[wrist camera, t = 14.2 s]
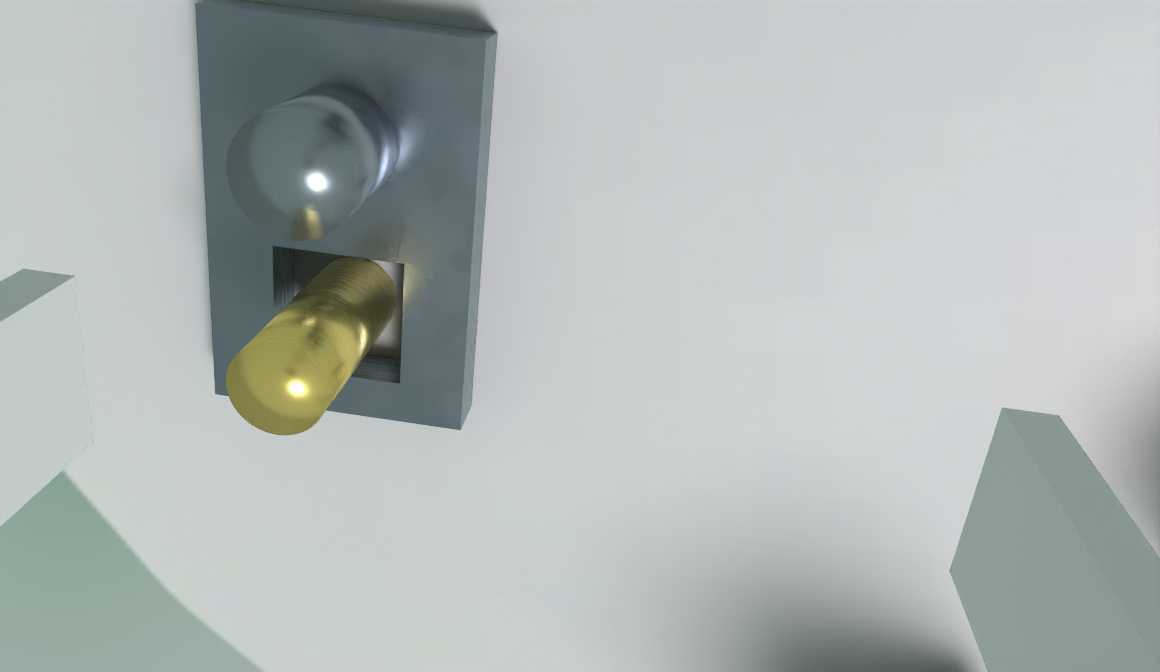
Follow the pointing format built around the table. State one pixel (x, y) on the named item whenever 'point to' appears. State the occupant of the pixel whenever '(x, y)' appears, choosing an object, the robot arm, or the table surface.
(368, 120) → the gray peg plate
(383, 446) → the table surface
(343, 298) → the round pin
